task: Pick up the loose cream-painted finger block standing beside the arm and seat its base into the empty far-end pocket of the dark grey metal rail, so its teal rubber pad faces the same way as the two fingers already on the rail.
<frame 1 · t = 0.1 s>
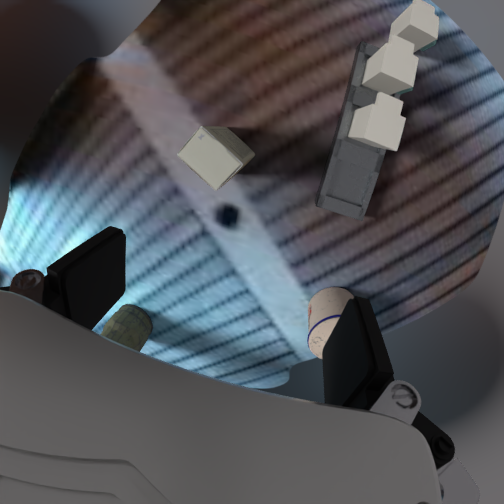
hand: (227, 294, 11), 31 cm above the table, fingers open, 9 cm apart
rail: (361, 128, 34), on the table
skincare box: (232, 151, 38), on the table
finger a: (377, 78, 29), point 2 cm above the table, touching rail
finger loose: (401, 38, 26), on the table
finger b: (364, 128, 32), point 2 cm above the table, touching rail
teacup with lid: (335, 312, 47), on the table
thermos: (136, 319, 55), on the table
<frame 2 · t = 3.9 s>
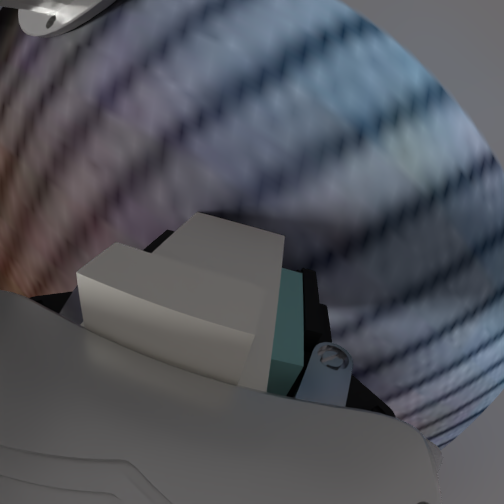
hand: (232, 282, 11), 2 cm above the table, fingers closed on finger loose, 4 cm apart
finger loose: (231, 262, 13), on the table, touching gripper
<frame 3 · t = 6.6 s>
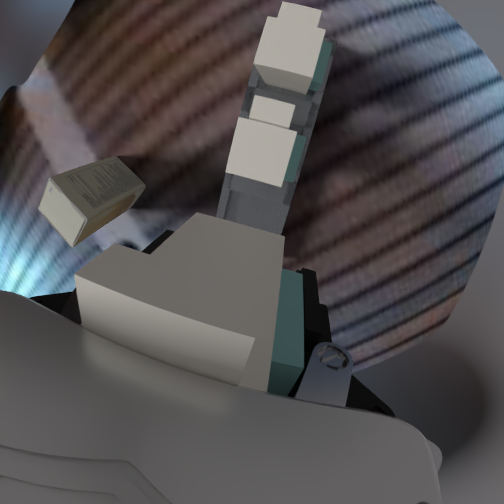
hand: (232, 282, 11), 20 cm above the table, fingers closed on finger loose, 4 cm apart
rail: (271, 144, 28), on the table
skincare box: (124, 182, 32), on the table
finger a: (291, 71, 22), point 2 cm above the table, touching rail
finger loose: (230, 263, 13), point 19 cm above the table, touching gripper
finger b: (270, 145, 26), point 2 cm above the table, touching rail
when the fingers open (4 cm above the table, at t = 9.2 s): finger loose stays where it is, resting on rail.
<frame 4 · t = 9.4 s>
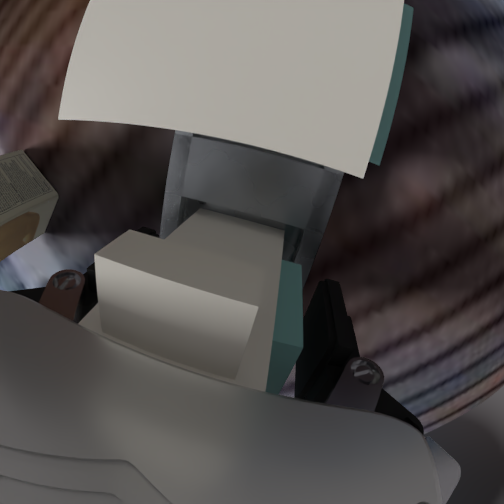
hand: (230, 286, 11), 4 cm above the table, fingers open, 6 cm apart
rail: (277, 96, 12), on the table
skincare box: (35, 191, 16), on the table
finger loose: (232, 257, 13), point 2 cm above the table, touching rail
finger b: (275, 90, 10), point 2 cm above the table, touching rail
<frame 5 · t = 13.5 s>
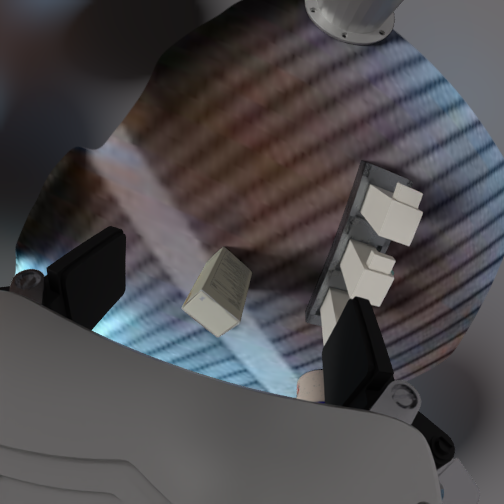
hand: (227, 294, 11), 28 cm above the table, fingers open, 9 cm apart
rail: (354, 249, 39), on the table
skincare box: (230, 267, 43), on the table
finger a: (377, 202, 33), point 2 cm above the table, touching rail
finger loose: (336, 300, 40), point 2 cm above the table, touching rail
finger b: (357, 255, 37), point 2 cm above the table, touching rail
teacup with lid: (320, 385, 51), on the table
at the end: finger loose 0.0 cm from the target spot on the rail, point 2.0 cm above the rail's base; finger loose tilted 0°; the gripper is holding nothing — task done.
